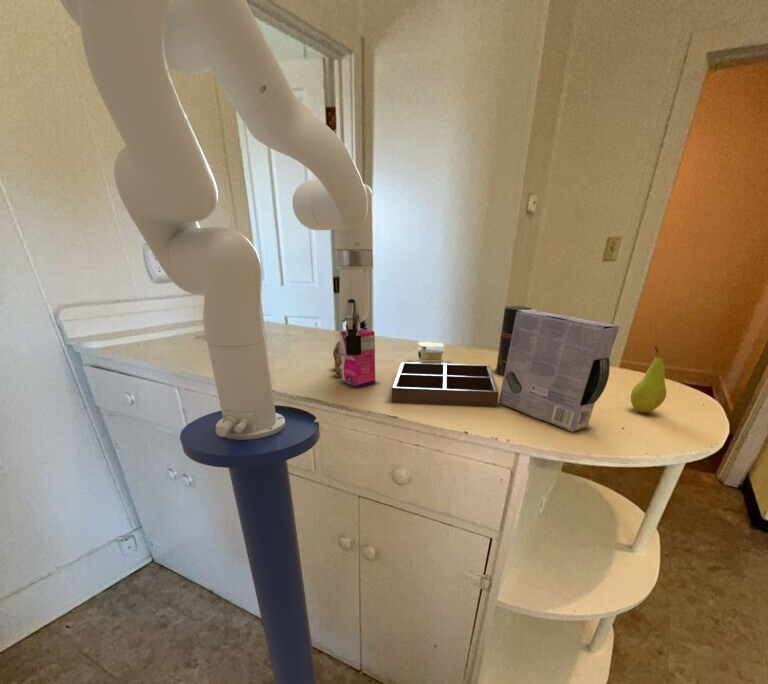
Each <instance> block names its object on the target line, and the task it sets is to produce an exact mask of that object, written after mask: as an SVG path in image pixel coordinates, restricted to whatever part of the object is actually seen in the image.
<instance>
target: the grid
mask: <svg viewBox="0 0 768 684" xmlns="http://www.w3.org/2000/svg"><path fill="white" fill-rule="evenodd" d="M499 393H500V392H499V389H498V386H497V383H496V379H495V377H494V374H493V372H492V368H491V366H490V364H465V363H460V364H459V363H448V364H435V363H411V362H404V361H403V362H401V363H400V365H399V368H398V370H397V374H396V375H395V379H394V381H393V384H392V387H391V403H401V404H403V403H404V404H426V405H448V406H469V407H470V406H471V407H494V408H495V407H496V408H497V406H498V401H499V395H500V394H499Z"/></svg>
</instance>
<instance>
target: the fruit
mask: <svg viewBox="0 0 768 684" xmlns="http://www.w3.org/2000/svg"><path fill="white" fill-rule="evenodd" d="M654 350H655V352H656V353H655V354H656V355H655V357H654V358H653V361H652V363H651V365H650V366H649V367H648V368H647V371H646V373H645V375H643V377H642V379H640V381H639V382H638V383H636V385H635V386H634V387H633V388H632V390H631V393H630V403H631V405H632V407H633V409H635V411H637V412H639V413H642V414H644V413H645V414H647V413H650V412H653V411H655V410H656V409H657V408H659V407H660V406H661V405H662V404H663V403H664V401H665V399H666V397H667V388H666V369H665V363H664V360H663V358H662V357H661V356H659V348H658V346H657V345H655V346H654Z"/></svg>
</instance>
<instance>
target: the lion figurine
mask: <svg viewBox="0 0 768 684" xmlns="http://www.w3.org/2000/svg"><path fill="white" fill-rule="evenodd" d="M332 355H333V357H332V358H333V360H334V367H333V369H332V370H333V371H335V375H334V376H335V378H340V377H341V371H340V366H342V363H341V345H340V340H339V341H338V342H337V343H336V344H335V347H334V349H333V352H332Z"/></svg>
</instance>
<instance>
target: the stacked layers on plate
mask: <svg viewBox="0 0 768 684" xmlns="http://www.w3.org/2000/svg"><path fill="white" fill-rule="evenodd" d="M417 345H418V346H420V347H416V350H417V353H418V354H417V356H416V358H417V359H418V360H419V361H415V360H414V361H413V360H412V361H410V363H435V364H449V362H447V361H444V356H443V354H444V352H445V350H444V348H442V347H445V343H442V342H431V341H420V342H417Z"/></svg>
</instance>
